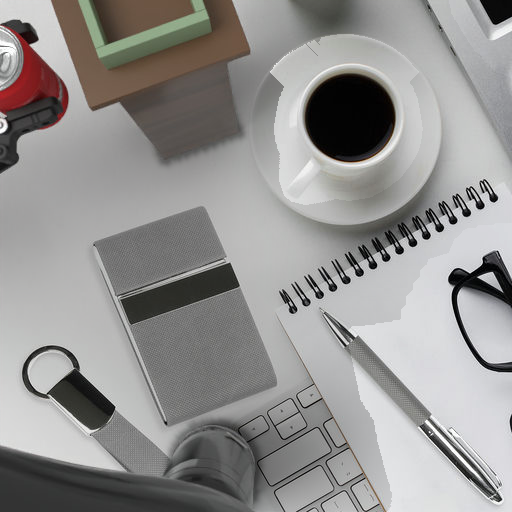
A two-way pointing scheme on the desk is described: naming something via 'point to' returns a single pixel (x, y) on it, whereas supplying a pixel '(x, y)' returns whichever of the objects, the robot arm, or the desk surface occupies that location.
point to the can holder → (146, 43)
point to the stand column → (186, 112)
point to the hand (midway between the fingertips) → (45, 67)
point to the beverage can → (26, 75)
